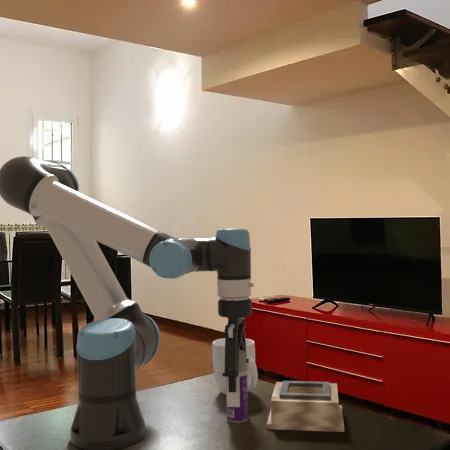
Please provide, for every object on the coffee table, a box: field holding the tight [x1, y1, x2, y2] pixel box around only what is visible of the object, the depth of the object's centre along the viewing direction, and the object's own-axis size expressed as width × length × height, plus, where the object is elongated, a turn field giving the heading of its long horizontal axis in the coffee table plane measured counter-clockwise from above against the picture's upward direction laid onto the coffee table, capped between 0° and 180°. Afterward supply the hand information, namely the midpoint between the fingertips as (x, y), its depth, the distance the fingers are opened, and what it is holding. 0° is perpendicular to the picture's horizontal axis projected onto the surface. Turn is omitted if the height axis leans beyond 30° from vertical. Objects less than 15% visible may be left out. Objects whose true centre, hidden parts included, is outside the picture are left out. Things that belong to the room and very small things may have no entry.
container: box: [225, 350, 249, 424], centre depth 123 cm, size 5×5×15 cm
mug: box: [211, 337, 259, 396], centre depth 142 cm, size 15×11×13 cm
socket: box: [266, 380, 345, 433], centre depth 123 cm, size 16×14×7 cm
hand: (237, 398), depth 123 cm, fingers open, 9 cm apart
